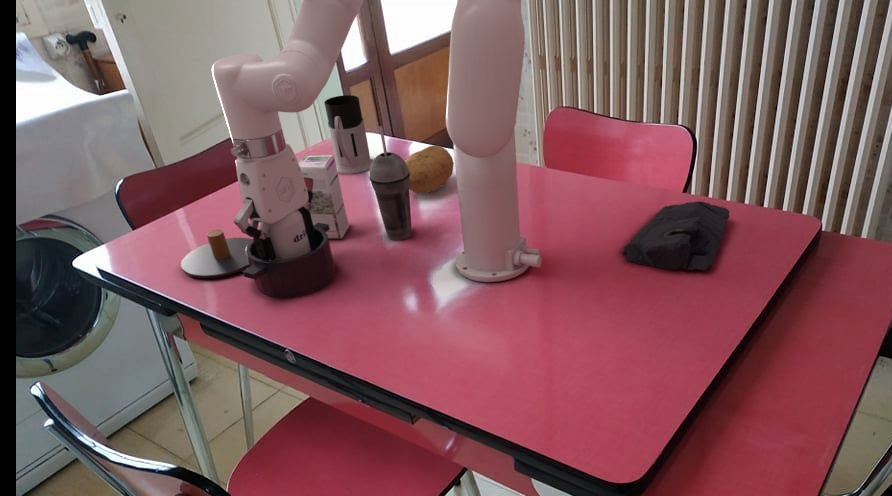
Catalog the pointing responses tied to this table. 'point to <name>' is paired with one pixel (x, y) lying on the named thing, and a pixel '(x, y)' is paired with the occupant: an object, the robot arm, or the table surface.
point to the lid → (217, 257)
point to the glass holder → (348, 134)
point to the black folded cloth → (680, 237)
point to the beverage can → (289, 237)
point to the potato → (429, 169)
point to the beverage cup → (392, 192)
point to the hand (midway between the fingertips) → (288, 245)
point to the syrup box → (326, 194)
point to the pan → (294, 268)
